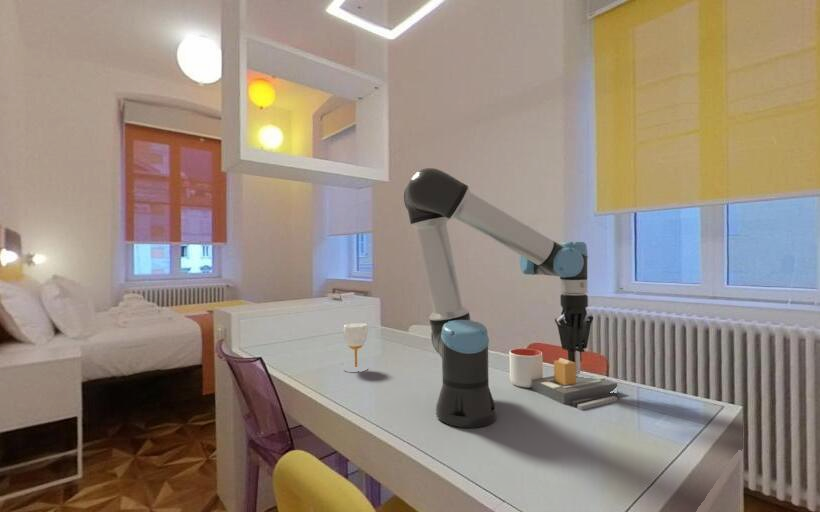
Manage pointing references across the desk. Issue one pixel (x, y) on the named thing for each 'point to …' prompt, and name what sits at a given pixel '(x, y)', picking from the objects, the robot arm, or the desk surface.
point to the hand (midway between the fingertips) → (574, 373)
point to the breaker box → (573, 388)
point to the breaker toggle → (564, 371)
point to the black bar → (592, 399)
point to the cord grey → (596, 402)
